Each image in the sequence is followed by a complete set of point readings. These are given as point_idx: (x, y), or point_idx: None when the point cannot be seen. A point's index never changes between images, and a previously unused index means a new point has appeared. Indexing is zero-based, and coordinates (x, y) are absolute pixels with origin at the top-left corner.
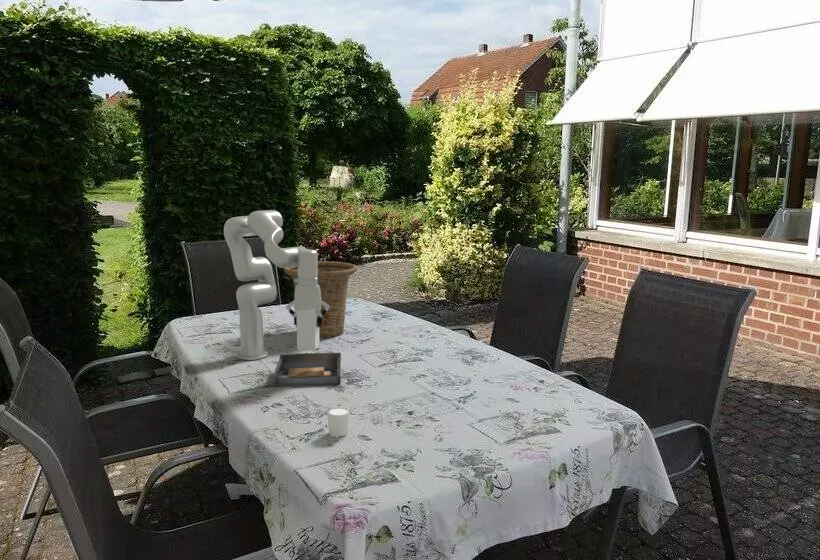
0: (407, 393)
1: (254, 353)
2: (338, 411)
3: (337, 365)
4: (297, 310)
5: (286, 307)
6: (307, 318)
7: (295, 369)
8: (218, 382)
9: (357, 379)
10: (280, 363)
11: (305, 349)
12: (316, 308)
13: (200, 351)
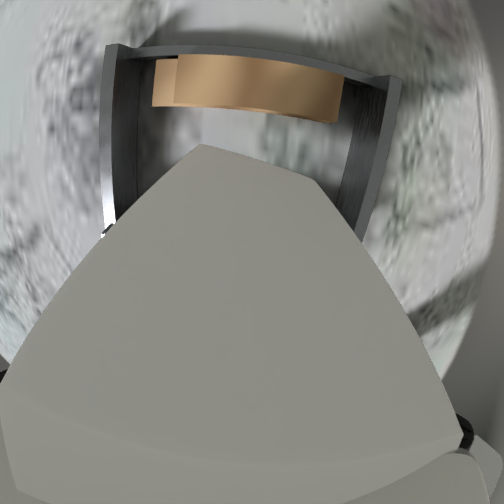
0: (2, 22)
1: None
2: None
3: (111, 94)
4: (455, 462)
5: (497, 458)
6: (241, 312)
7: (312, 95)
8: (486, 181)
9: (78, 106)
10: (372, 170)
11: (263, 162)
12: (3, 478)
13: (435, 366)
